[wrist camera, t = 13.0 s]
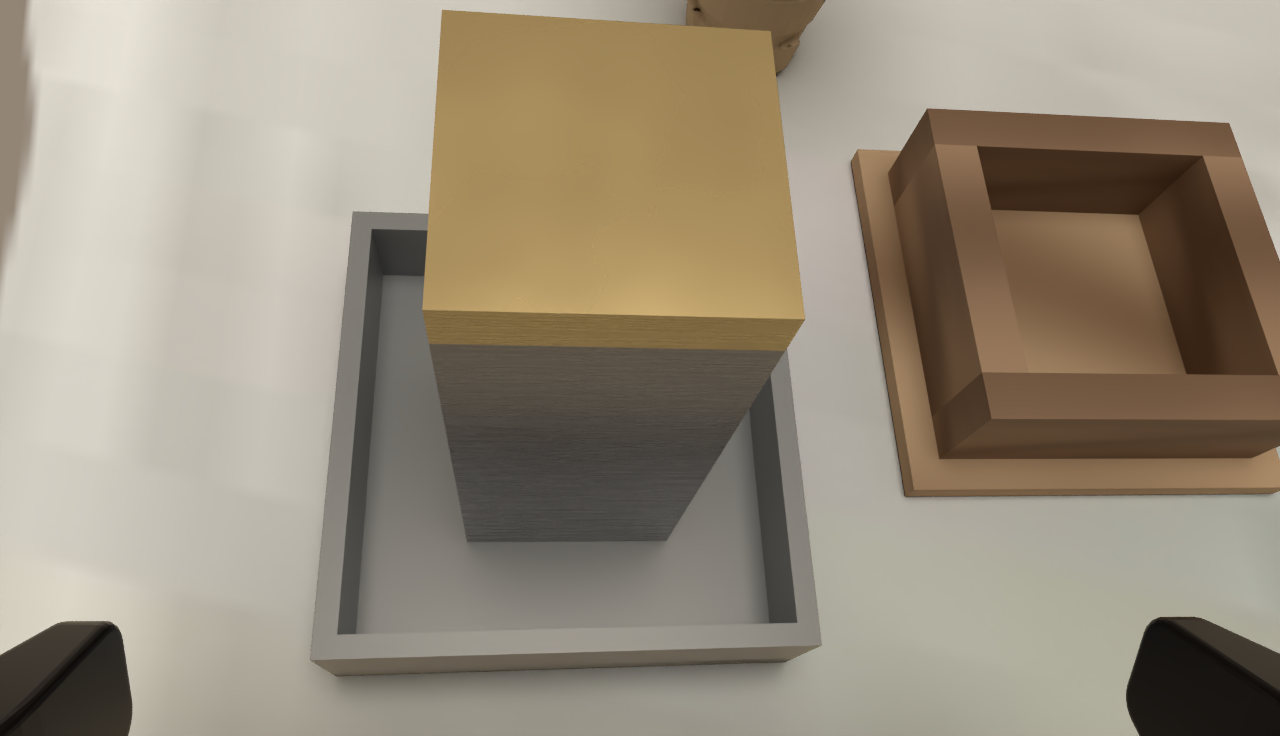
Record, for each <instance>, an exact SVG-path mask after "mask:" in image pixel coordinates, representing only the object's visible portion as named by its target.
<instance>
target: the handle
mask: <svg viewBox="0 0 1280 736" xmlns="http://www.w3.org/2000/svg"><path fill="white" fill-rule="evenodd" d="M824 2H825V0H688V2H687V11H686V26H699V27H715V28H730V29H746V30H761V31H771V38H772V46H773V55H774V63H775V71H776V72H779V71H781V70H782V69H784V68H785V67H786V66H787V65H788V63H789V62H790V60H791V59H792V57H793V55H794V53H795V51H796V49H797V47H798V45H799V43H800V41H799V37H800V35H801V33H802V32H803V30H804V29H805V27H806V26H807V24H809V23H810V22H811V21H812V20H813V19H814V17H815V15H816V14H817V12H818V11H819V9H820V8H821V6H822V5H823V3H824Z"/></svg>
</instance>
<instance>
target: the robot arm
mask: <svg viewBox="0 0 1280 736" xmlns="http://www.w3.org/2000/svg"><path fill="white" fill-rule="evenodd" d="M1126 701H1127V708H1128V711H1129V715H1130V717H1131V720H1132V722H1133V724H1134V726H1135V728H1136V730H1137V732H1138V734H1139V736H1280V654H1279V653H1277V652H1275V651H1272V650H1270V649H1268V648H1266V647H1264V646H1262V645H1259V644H1257V643H1255V642H1253V641H1251V640H1248V639H1246V638H1244V637H1242V636H1240V635H1238V634H1235V633H1233V632H1231V631H1229V630H1227V629H1224V628H1222V627H1220V626H1218V625H1216V624H1213V623H1211V622H1209V621H1207V620H1204V619H1202V618H1197V617H1159V618H1157V619H1154V620H1152V621H1151V622H1150V623H1149V625H1148V626H1147V627H1146V629H1145V631H1144V634H1143V637H1142V640H1141V644H1140V647H1139V650H1138V653H1137V656H1136V660H1135V663H1134V666H1133V669H1132V672H1131V676H1130V679H1129V682H1128V685H1127V690H1126ZM131 720H132V698H131V691H130V685H129V678H128V671H127V665H126V658H125V651H124V645H123V639H122V635H121V632H120V630H119V628H118V627H117V626H116V625H114V624H113V623H111V622H109V621H66V622H61V623H57V624H55V625H53V626H51V627H50V628H48V629H46V630H44V631H42V632H41V633H39V634H37V635H35V636H33V637H32V638H30V639H28V640H26V641H25V642H23V643H21V644H19V645H17V646H16V647H14V648H12V649H10V650H8V651H7V652H5V653H3V654H1V655H0V736H128V734H129V730H130V726H131Z"/></svg>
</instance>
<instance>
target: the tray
mask: <svg viewBox="0 0 1280 736" xmlns="http://www.w3.org/2000/svg"><path fill="white" fill-rule="evenodd" d="M428 216H429V214H416V213H384V212H353V215H352V225H351V236H350V246H349V257H348V267H347V278H346V288H345V299H344V309H343V320H342V330H341V341H340V351H339V362H338V372H337V383H336V393H335V404H334V414H333V425H332V435H331V445H330V456H329V466H328V477H327V487H326V498H325V508H324V519H323V529H322V540H321V550H320V561H319V571H318V582H317V592H316V603H315V613H314V624H313V634H312V645H311V655H310V660H311V661H312V662H314V663H316V664H317V665H319V666H321V667H322V668H324V669H325V670H327V671H329V672H330V673H332V674H334V675H335V676H351V675H383V674H415V673H448V672H480V671H512V670H544V669H576V668H608V667H640V666H672V665H704V664H737V663H769V662H786V661H788V660H790V659H793V658H795V657H797V656H799V655H801V654H804V653H806V652H808V651H810V650H812V649H815V648H817V647H819V646H821V645H822V643H821V635H820V626H819V618H818V609H817V601H816V592H815V584H814V575H813V566H812V558H811V549H810V541H809V532H808V524H807V515H806V507H805V498H804V490H803V481H802V472H801V464H800V455H799V447H798V438H797V430H796V421H795V413H794V404H793V396H792V387H791V379H790V370H789V361H788V353H787V349H786V351H785V352H784V354H783V355H782V357H781V359H780V360H779V362H778V363H777V365H776V367H775V368H774V370H773V371H772V373H771V375H770V376H769V378H768V379H767V381H766V383H765V384H764V386H763V387H762V389H761V391H760V392H759V394H758V395H757V397H756V399H755V400H754V402H753V403H752V405H751V407H750V408H749V410H748V411H747V413H746V415H745V416H744V418H743V419H742V421H741V423H740V424H739V426H738V427H737V429H736V431H735V432H734V434H733V435H732V437H731V439H730V440H729V442H728V443H727V445H726V447H725V448H724V450H723V451H722V453H721V455H720V456H719V458H718V459H717V461H716V463H715V464H714V466H713V467H712V469H711V471H710V472H709V474H708V475H707V477H706V479H705V480H704V482H703V483H702V485H701V487H700V488H699V490H698V491H697V493H696V495H695V496H694V498H693V499H692V501H691V503H690V504H689V506H688V507H687V509H686V511H685V512H684V514H683V515H682V517H681V519H680V520H679V522H678V523H677V525H676V527H675V528H674V530H673V531H672V533H671V535H670V536H669V538H668V539H667V541H590V542H467V539H466V534H465V529H464V523H463V518H462V513H461V508H460V503H459V497H458V492H457V487H456V482H455V477H454V472H453V466H452V461H451V456H450V451H449V446H448V440H447V435H446V430H445V425H444V420H443V414H442V409H441V404H440V399H439V394H438V389H437V383H436V378H435V373H434V368H433V363H432V357H431V352H430V347H429V342H428V337H427V332H426V326H425V321H424V316H423V311H422V307H423V292H424V277H425V262H426V246H427V231H428Z"/></svg>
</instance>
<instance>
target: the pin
mask: <svg viewBox="0 0 1280 736" xmlns="http://www.w3.org/2000/svg"><path fill="white" fill-rule="evenodd" d="M422 311H423V316H424V321H425V326H426V332H427V337H428V342H429V347H430V352H431V357H432V363H433V368H434V373H435V378H436V383H437V389H438V394H439V399H440V404H441V409H442V414H443V420H444V425H445V430H446V435H447V440H448V446H449V451H450V456H451V461H452V466H453V472H454V477H455V482H456V487H457V492H458V497H459V503H460V508H461V513H462V518H463V523H464V529H465V534H466V539H467V542H590V541H667V539H668V538H669V536H670V535H671V533H672V531H673V530H674V528H675V527H676V525H677V523H678V522H679V520H680V519H681V517H682V515H683V514H684V512H685V511H686V509H687V507H688V506H689V504H690V503H691V501H692V499H693V498H694V496H695V495H696V493H697V491H698V490H699V488H700V487H701V485H702V483H703V482H704V480H705V479H706V477H707V475H708V474H709V472H710V471H711V469H712V467H713V466H714V464H715V463H716V461H717V459H718V458H719V456H720V455H721V453H722V451H723V450H724V448H725V447H726V445H727V443H728V442H729V440H730V439H731V437H732V435H733V434H734V432H735V431H736V429H737V427H738V426H739V424H740V423H741V421H742V419H743V418H744V416H745V415H746V413H747V411H748V410H749V408H750V407H751V405H752V403H753V402H754V400H755V399H756V397H757V395H758V394H759V392H760V391H761V389H762V387H763V386H764V384H765V383H766V381H767V379H768V378H769V376H770V375H771V373H772V371H773V370H774V368H775V367H776V365H777V363H778V362H779V360H780V359H781V357H782V355H783V354H784V352H785V351H786V349H787V347H788V346H789V344H790V342H791V341H792V339H793V338H794V336H795V334H796V333H797V331H798V330H799V328H800V326H801V325H802V323H803V322H804V320H805V315H804V307H803V298H802V290H801V282H800V273H799V265H798V256H797V248H796V240H795V231H794V223H793V214H792V206H791V198H790V189H789V181H788V172H787V164H786V156H785V147H784V139H783V130H782V122H781V113H780V105H779V97H778V88H777V80H776V71H775V63H774V55H773V46H772V38H771V31H761V30H746V29H730V28H715V27H699V26H684V25H668V24H653V23H637V22H622V21H606V20H591V19H575V18H560V17H544V16H529V15H513V14H497V13H482V12H466V11H451V10H442V19H441V35H440V50H439V65H438V80H437V95H436V110H435V125H434V140H433V156H432V171H431V186H430V201H429V216H428V231H427V246H426V262H425V277H424V292H423V307H422Z"/></svg>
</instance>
